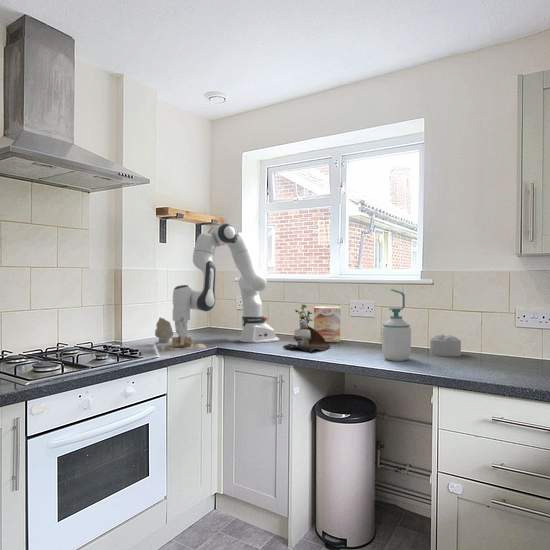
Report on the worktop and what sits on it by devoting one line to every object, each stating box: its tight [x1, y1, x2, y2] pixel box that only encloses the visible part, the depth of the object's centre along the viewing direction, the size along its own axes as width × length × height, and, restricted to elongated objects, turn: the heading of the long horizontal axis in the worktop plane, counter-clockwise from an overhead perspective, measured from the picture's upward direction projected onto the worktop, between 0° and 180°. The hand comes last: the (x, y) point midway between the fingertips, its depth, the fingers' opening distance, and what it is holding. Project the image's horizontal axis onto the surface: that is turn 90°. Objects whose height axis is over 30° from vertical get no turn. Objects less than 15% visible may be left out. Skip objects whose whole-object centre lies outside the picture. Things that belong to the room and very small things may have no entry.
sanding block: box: [171, 336, 192, 348], centre depth 218 cm, size 9×5×4 cm, turn 109°
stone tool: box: [154, 316, 174, 343], centre depth 234 cm, size 11×4×15 cm, turn 77°
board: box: [160, 343, 207, 351], centre depth 218 cm, size 22×13×1 cm, turn 109°
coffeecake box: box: [313, 306, 342, 343], centre depth 242 cm, size 15×7×20 cm, turn 80°
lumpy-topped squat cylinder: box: [429, 334, 462, 357], centre depth 199 cm, size 10×13×9 cm
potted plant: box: [282, 304, 331, 353], centre depth 220 cm, size 20×19×25 cm
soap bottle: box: [381, 288, 412, 362], centre depth 188 cm, size 12×12×31 cm
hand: (181, 343), depth 218 cm, fingers closed on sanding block, 5 cm apart
